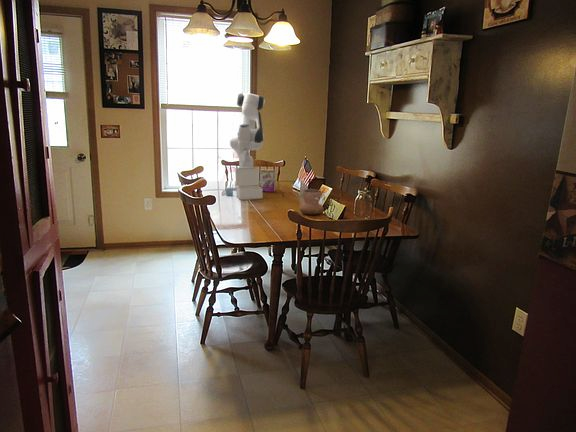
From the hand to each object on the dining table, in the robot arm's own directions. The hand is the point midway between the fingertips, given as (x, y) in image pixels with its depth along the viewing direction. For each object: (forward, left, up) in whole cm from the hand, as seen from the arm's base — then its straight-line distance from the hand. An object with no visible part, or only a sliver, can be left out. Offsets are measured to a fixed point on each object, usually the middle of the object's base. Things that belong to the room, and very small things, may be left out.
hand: (244, 166), depth 318 cm
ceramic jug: (+68, +27, -20) cm, 76 cm away
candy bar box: (-4, +18, -20) cm, 27 cm away
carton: (+15, 0, -20) cm, 25 cm away
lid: (+10, 0, -5) cm, 12 cm away
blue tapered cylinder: (+3, -12, -20) cm, 23 cm away
